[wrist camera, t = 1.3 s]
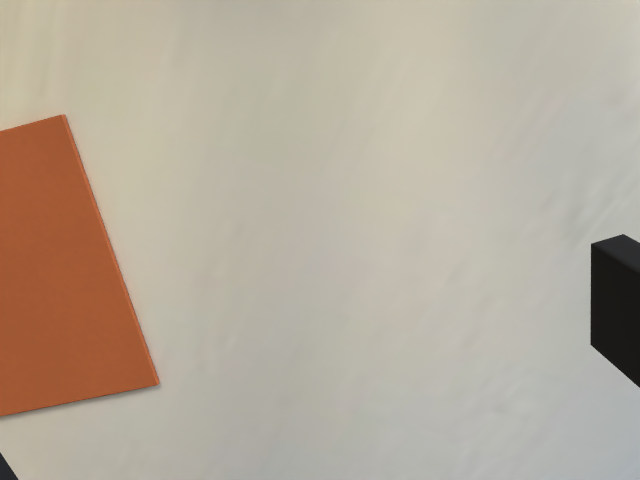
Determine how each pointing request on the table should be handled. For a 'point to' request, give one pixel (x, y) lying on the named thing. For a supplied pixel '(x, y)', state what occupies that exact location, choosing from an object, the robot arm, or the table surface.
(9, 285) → the mat
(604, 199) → the table surface
